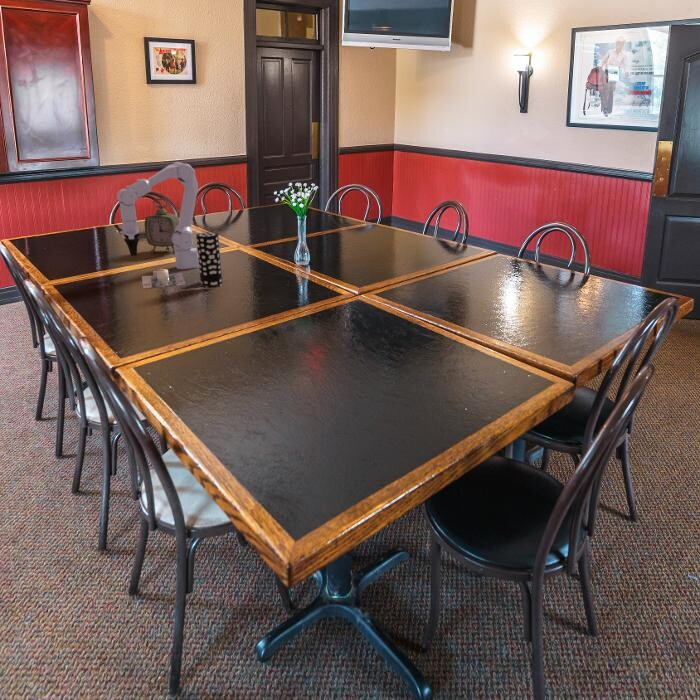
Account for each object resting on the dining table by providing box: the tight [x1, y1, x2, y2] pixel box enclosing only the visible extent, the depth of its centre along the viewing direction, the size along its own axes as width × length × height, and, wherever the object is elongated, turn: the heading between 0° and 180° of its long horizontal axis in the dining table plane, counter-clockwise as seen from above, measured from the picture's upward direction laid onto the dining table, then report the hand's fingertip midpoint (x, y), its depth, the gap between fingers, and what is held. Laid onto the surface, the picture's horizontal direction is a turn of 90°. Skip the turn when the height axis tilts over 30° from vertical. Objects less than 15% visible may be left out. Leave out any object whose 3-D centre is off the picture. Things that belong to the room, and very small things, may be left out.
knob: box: [152, 268, 170, 284], centre depth 258 cm, size 6×4×5 cm
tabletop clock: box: [144, 198, 179, 254], centre depth 308 cm, size 14×9×25 cm, turn 80°
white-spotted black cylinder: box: [195, 231, 223, 289], centre depth 256 cm, size 8×8×20 cm
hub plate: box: [141, 272, 186, 289], centre depth 263 cm, size 16×18×2 cm
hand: (133, 253), depth 268 cm, fingers open, 7 cm apart
